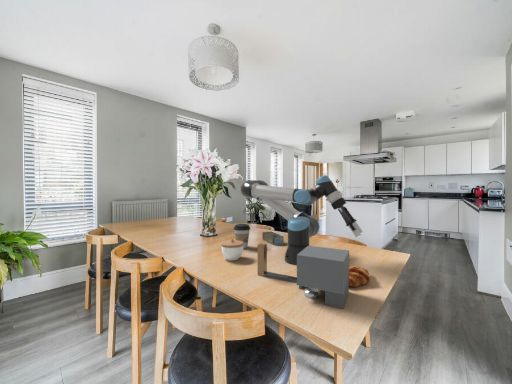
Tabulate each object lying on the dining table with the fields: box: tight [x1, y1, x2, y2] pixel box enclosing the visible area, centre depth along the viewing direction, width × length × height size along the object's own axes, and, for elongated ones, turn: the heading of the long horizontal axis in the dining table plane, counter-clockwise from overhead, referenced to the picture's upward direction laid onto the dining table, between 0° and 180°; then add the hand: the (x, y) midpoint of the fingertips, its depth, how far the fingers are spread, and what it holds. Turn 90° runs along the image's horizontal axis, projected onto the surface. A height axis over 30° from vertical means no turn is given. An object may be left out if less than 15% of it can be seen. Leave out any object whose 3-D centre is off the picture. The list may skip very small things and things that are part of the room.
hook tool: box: [257, 242, 305, 290], centre depth 101 cm, size 22×8×14 cm, turn 62°
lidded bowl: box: [220, 238, 244, 261], centre depth 132 cm, size 13×13×11 cm
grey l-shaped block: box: [296, 245, 350, 310], centre depth 88 cm, size 17×15×16 cm
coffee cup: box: [233, 223, 251, 250], centre depth 156 cm, size 11×11×15 cm
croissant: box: [349, 265, 371, 288], centre depth 100 cm, size 21×10×8 cm, turn 135°
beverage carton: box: [261, 231, 285, 246], centre depth 170 cm, size 8×19×7 cm, turn 25°
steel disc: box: [304, 287, 319, 300], centre depth 87 cm, size 5×5×2 cm
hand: (359, 234), depth 123 cm, fingers open, 13 cm apart
